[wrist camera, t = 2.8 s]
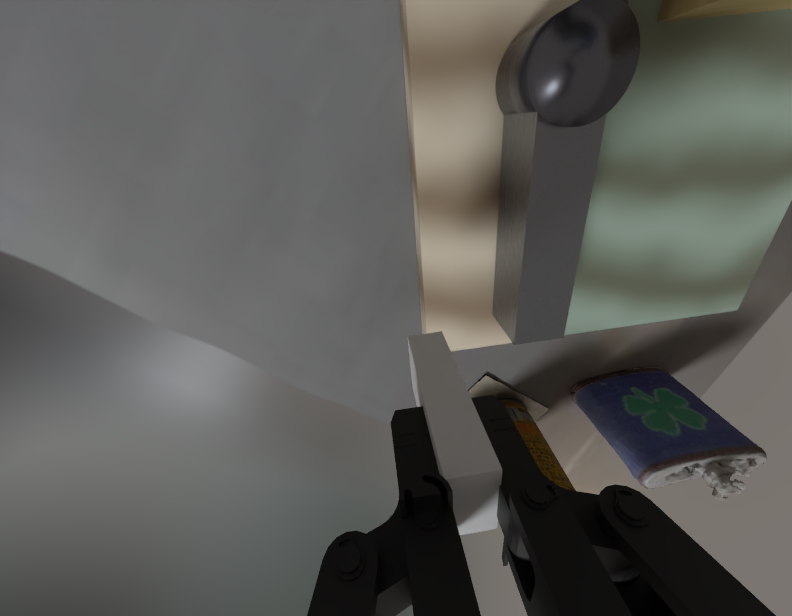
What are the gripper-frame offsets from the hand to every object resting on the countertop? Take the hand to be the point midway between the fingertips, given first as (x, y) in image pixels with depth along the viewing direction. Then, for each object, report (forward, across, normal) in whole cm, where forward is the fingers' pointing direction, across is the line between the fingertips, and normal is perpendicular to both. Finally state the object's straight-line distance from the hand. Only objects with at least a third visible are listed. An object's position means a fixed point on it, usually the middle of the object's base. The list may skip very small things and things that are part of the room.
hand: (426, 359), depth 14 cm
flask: (+10, +19, -14) cm, 25 cm away
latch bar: (+7, +7, +5) cm, 11 cm away
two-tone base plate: (+9, +13, +6) cm, 17 cm away
